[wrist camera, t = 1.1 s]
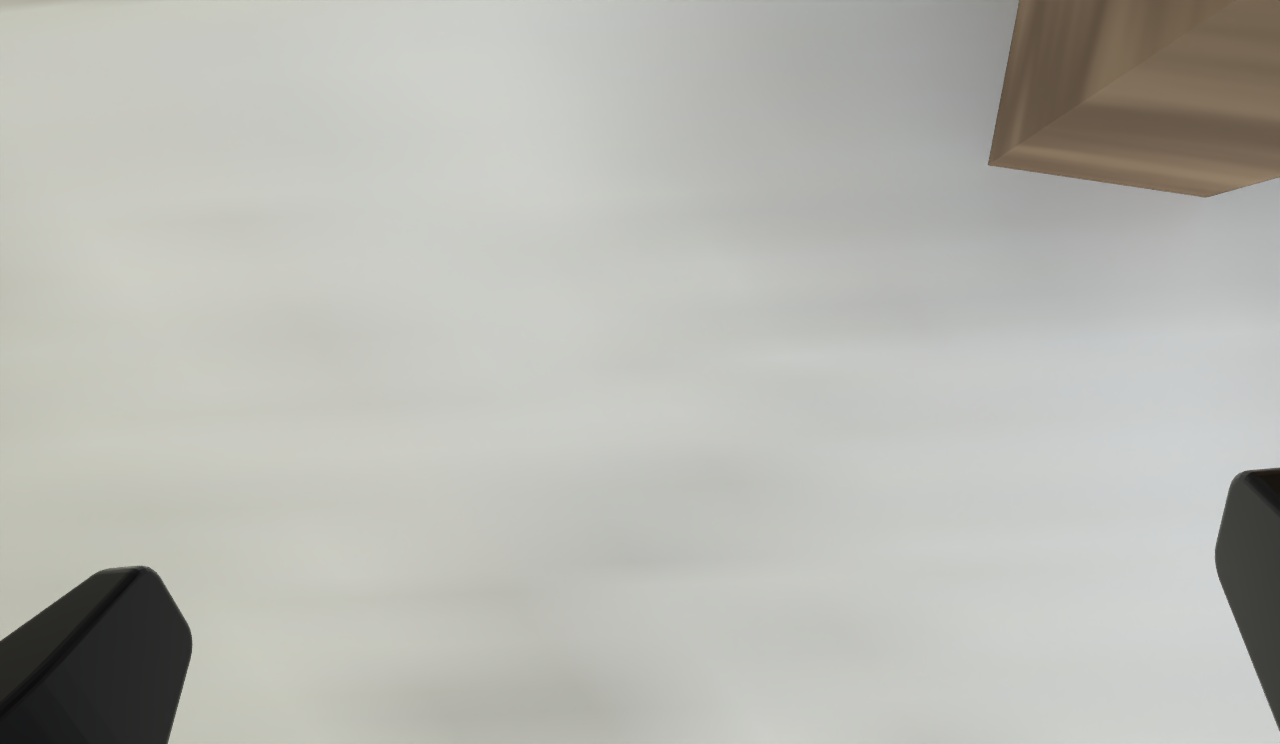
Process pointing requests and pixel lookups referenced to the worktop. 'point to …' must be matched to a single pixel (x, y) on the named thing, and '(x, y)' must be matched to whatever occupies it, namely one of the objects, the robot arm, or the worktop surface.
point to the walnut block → (1144, 93)
